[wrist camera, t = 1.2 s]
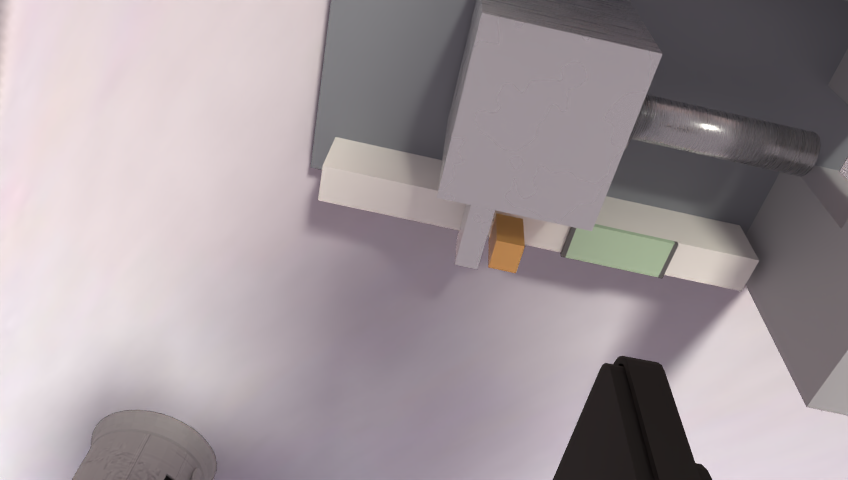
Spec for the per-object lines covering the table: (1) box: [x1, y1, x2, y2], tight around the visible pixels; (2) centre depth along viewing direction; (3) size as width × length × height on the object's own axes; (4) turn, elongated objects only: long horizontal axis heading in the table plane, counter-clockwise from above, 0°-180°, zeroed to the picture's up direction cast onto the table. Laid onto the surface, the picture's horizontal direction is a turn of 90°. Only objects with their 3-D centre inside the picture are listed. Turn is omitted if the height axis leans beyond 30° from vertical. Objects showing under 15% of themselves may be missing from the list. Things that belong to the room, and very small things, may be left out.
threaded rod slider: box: [437, 0, 820, 270], centre depth 29 cm, size 11×14×7 cm
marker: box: [488, 213, 525, 273], centre depth 30 cm, size 1×1×2 cm
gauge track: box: [311, 0, 848, 416], centre depth 27 cm, size 14×24×11 cm, turn 79°
